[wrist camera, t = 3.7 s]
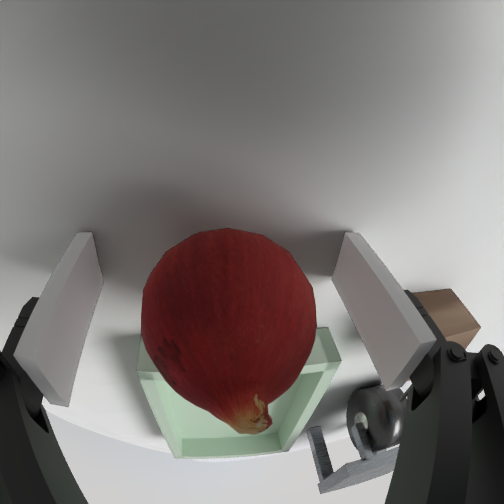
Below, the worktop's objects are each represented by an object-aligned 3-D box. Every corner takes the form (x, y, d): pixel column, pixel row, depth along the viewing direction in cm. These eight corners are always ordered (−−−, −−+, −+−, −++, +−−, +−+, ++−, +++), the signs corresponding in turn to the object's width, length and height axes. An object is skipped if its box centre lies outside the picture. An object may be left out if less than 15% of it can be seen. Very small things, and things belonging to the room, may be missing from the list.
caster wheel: (336, 381, 21) (365, 465, 15) (414, 364, 22) (448, 432, 16) (304, 433, 27) (320, 493, 21) (369, 418, 28) (388, 472, 22)
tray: (141, 333, 15) (136, 371, 13) (328, 327, 17) (341, 360, 15) (174, 435, 24) (174, 458, 22) (283, 429, 25) (288, 451, 23)
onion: (207, 319, 15) (219, 472, 8) (127, 243, 12) (79, 421, 5) (308, 264, 14) (376, 419, 7) (242, 163, 11) (302, 333, 4)
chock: (397, 293, 16) (429, 341, 13) (450, 287, 17) (481, 327, 14) (375, 337, 19) (399, 383, 15) (426, 328, 19) (451, 367, 16)
